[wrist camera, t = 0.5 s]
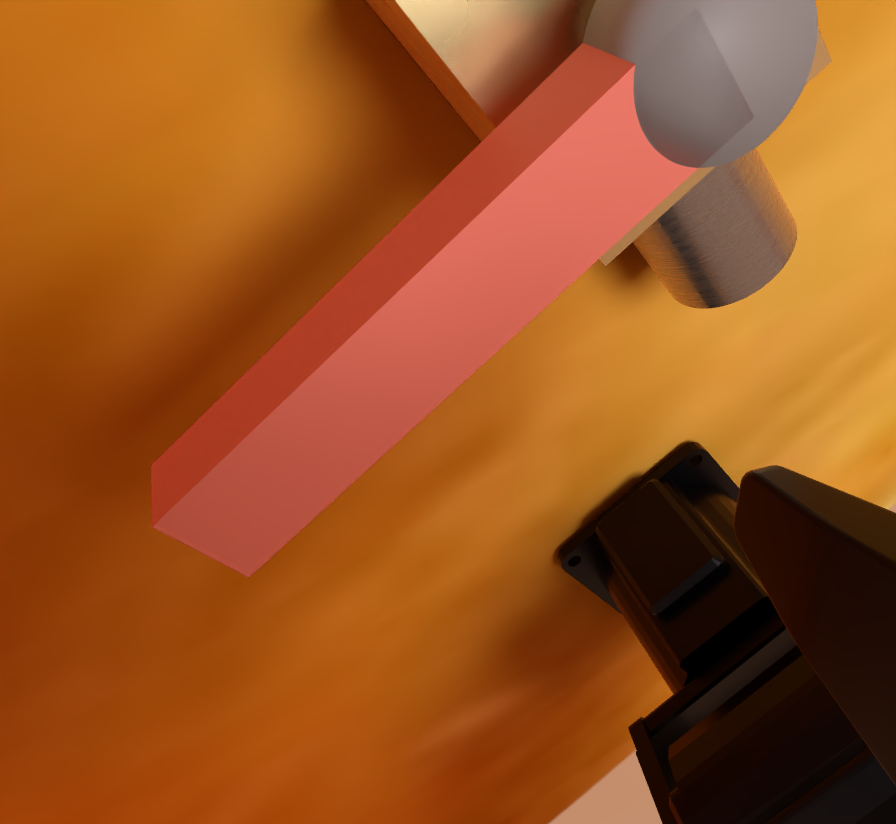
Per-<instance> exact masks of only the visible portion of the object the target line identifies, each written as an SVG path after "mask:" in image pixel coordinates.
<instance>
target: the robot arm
mask: <svg viewBox="0 0 896 824" xmlns="http://www.w3.org/2000/svg"><path fill="white" fill-rule="evenodd" d="M692 457H693V458H692ZM557 560H558V561H559V563H560V565H561V566H562V568H563V569H564V570H565V571H566V572H567V573H569V574H570V575H571V576H573V577H574V578H575V579H577V580H578V581H579V582H580V583H582V584H583V585H584V586H586V587H587V588H588V589H590V590H591V591H592V592H594V593H595V594H596V595H597V596H599V597H600V598H601V599H603V600H604V601H605V602H607V603H608V604H609V605H611V606H612V607H613V608H615V609H616V610H617V611H618V612H620V613H621V614H622V615H623V616H624V618H625V619H626V621H627V622H628V624H629V625H630V627H631V628H632V630H633V632H634V633H635V635H636V636H637V638H638V639H639V641H640V643H641V644H642V646H643V647H644V649H645V650H646V652H647V653H648V655H649V657H650V658H651V660H652V661H653V663H654V664H655V666H656V668H657V669H658V671H659V672H660V674H661V675H662V677H663V679H664V680H665V682H666V683H667V685H668V686H669V688H670V689H671V691H672V693H673V694H674V695H672V696H671V697H670V698H669V699H667V700H666V701H665V702H664V703H662V704H661V705H660V706H659V707H658V708H656V709H655V710H654V711H653V712H651V713H650V714H649V715H648V716H646V717H645V718H643V717H640V718H639V719H638V720H637V721H635V722H634V723H633V724H632V725H631V726H629V731H630V734H631V737H632V739H633V742H634V745H635V747H636V750H637V751H636V755H637V757H638V760H639V763H640V766H641V768H642V771H643V774H644V776H645V779H646V781H647V784H648V786H649V789H650V792H651V794H652V797H653V799H654V802H655V805H656V807H657V810H658V813H659V815H660V818H661V821H662V823H663V824H896V513H895V512H892V511H890V510H887V509H885V508H882V507H880V506H878V505H875V504H873V503H870V502H868V501H865V500H863V499H860V498H858V497H855V496H853V495H850V494H848V493H846V492H843V491H841V490H838V489H836V488H833V487H831V486H828V485H826V484H823V483H821V482H819V481H816V480H814V479H811V478H809V477H806V476H804V475H801V474H799V473H796V472H794V471H791V470H789V469H787V468H784V467H781V466H777V465H774V466H768V467H764V468H759V469H755V470H751V471H749V472H747V473H745V475H744V476H743V478H742V480H741V484H740V489H739V488H738V487H737V485H736V484H735V483H734V482H733V481H732V480H731V478H730V477H729V476H728V475H727V474H726V473H725V471H724V470H723V469H722V468H721V467H720V466H719V465H718V463H717V462H716V461H715V460H714V459H713V458H712V456H711V455H710V454H709V453H708V452H707V451H706V450H705V449H704V447H703V446H702V445H701V444H699V443H696V442H692V443H689V444H687V445H685V446H684V447H682V448H681V449H680V450H679V451H678V452H676V453H675V454H674V455H673V456H672V457H671V458H669V459H668V460H667V461H666V462H665V463H663V464H662V465H661V466H660V467H659V468H657V469H656V470H655V471H654V472H653V473H651V474H650V475H649V476H648V477H647V478H645V479H644V480H643V481H642V482H641V483H639V484H638V485H637V486H636V487H635V488H633V489H632V490H631V491H630V492H629V493H627V494H626V495H625V496H624V497H623V498H621V499H620V500H619V501H618V502H617V503H616V504H614V505H613V506H612V507H611V508H610V509H608V510H607V511H606V512H605V513H604V514H602V515H601V516H600V517H599V518H598V519H596V520H595V521H594V522H593V523H592V524H590V525H589V526H588V527H587V528H586V529H584V530H583V531H582V532H581V533H580V534H578V535H577V536H576V537H575V538H574V539H572V540H571V541H570V542H569V543H568V544H567V545H565V546H564V547H563V548H562V549H561V550H560V551H559V553H558V555H557Z"/></svg>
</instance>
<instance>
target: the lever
mask: <svg viewBox="0 0 896 824" xmlns="http://www.w3.org/2000/svg"><path fill="white" fill-rule="evenodd" d="M817 33H818V18H817V8H816V3H815V0H596V2H595V4H594V6H593V9H592V11H591V13H590V16H589V19H588V23H587V26H586V30H585V35H584V39H583V43H582V44H581V45H580V46H579V47H578V48H577V49H576V50H575V51H574V52H573V53H572V54H571V55H570V56H569V57H568V58H567V59H566V60H565V61H564V62H563V63H562V64H561V65H560V66H559V67H558V68H557V69H556V70H555V71H554V72H553V73H552V74H551V75H550V76H549V77H548V78H547V79H545V80H544V81H543V82H542V83H541V84H540V85H539V86H538V87H537V88H536V89H535V90H534V91H533V92H532V93H531V94H530V95H529V96H528V97H527V98H526V99H525V100H524V101H523V102H522V103H521V104H520V105H519V106H518V107H517V108H516V109H515V110H514V111H513V112H512V113H511V114H510V115H509V116H508V117H507V118H506V119H505V120H504V121H503V122H502V123H500V124H499V125H498V126H497V127H496V128H495V129H494V130H493V131H492V132H491V133H490V134H489V135H488V136H487V137H486V138H485V139H484V140H483V141H482V142H481V143H480V144H479V145H478V146H477V147H476V148H475V149H474V150H473V151H472V152H471V153H470V154H469V155H468V156H467V157H466V158H465V159H464V160H463V161H462V162H461V163H460V164H459V165H458V166H456V167H455V168H454V169H453V170H452V171H451V172H450V173H449V174H448V175H447V176H446V177H445V178H444V179H443V180H442V181H441V182H440V183H439V184H438V185H437V186H436V187H435V188H434V189H433V190H432V191H431V192H430V193H429V194H428V195H427V196H426V197H425V198H424V199H423V200H422V201H421V202H420V203H419V204H418V205H417V206H416V207H415V208H414V209H413V210H411V211H410V212H409V213H408V214H407V215H406V216H405V217H404V218H403V219H402V220H401V221H400V222H399V223H398V224H397V225H396V226H395V227H394V228H393V229H392V230H391V231H390V232H389V233H388V234H387V235H386V236H385V237H384V238H383V239H382V240H381V241H380V242H379V243H378V244H377V245H376V246H375V247H374V248H373V249H372V250H371V251H370V252H369V253H367V254H366V255H365V256H364V257H363V258H362V259H361V260H360V261H359V262H358V263H357V264H356V265H355V266H354V267H353V268H352V269H351V270H350V271H349V272H348V273H347V274H346V275H345V276H344V277H343V278H342V279H341V280H340V281H339V282H338V283H337V284H336V285H335V286H334V287H333V288H332V289H331V290H330V291H329V292H328V293H327V294H326V295H325V296H324V297H322V298H321V299H320V300H319V301H318V302H317V303H316V304H315V305H314V306H313V307H312V308H311V309H310V310H309V311H308V312H307V313H306V314H305V315H304V316H303V317H302V318H301V319H300V320H299V321H298V322H297V323H296V324H295V325H294V326H293V327H292V328H291V329H290V330H289V331H288V332H287V333H286V334H285V335H284V336H283V337H282V338H281V339H280V340H279V341H277V342H276V343H275V344H274V345H273V346H272V347H271V348H270V349H269V350H268V351H267V352H266V353H265V354H264V355H263V356H262V357H261V358H260V359H259V360H258V361H257V362H256V363H255V364H254V365H253V366H252V367H251V368H250V369H249V370H248V371H247V372H246V373H245V374H244V375H243V376H242V377H241V378H240V379H239V380H238V381H237V382H236V383H235V384H233V385H232V386H231V387H230V388H229V389H228V390H227V391H226V392H225V393H224V394H223V395H222V396H221V397H220V398H219V399H218V400H217V401H216V402H215V403H214V404H213V405H212V406H211V407H210V408H209V409H208V410H207V411H206V412H205V413H204V414H203V415H202V416H201V417H200V418H199V419H198V420H197V421H196V422H195V423H194V424H193V425H192V426H191V427H190V428H188V429H187V430H186V431H185V432H184V433H183V434H182V435H181V436H180V437H179V438H178V439H177V440H176V441H175V442H174V443H173V444H172V445H171V446H170V447H169V448H168V449H167V450H166V451H165V452H164V453H163V454H162V455H161V456H160V457H159V458H158V459H157V460H156V461H155V462H154V463H153V464H152V465H151V497H152V527H153V528H155V529H157V530H159V531H161V532H163V533H164V534H166V535H168V536H170V537H172V538H174V539H176V540H178V541H180V542H182V543H184V544H186V545H188V546H189V547H191V548H193V549H195V550H197V551H199V552H201V553H203V554H205V555H207V556H209V557H211V558H212V559H214V560H216V561H218V562H220V563H222V564H224V565H226V566H228V567H230V568H232V569H234V570H236V571H237V572H239V573H241V574H243V575H245V576H247V577H250V576H251V575H252V574H253V573H254V572H256V571H257V570H258V569H259V568H260V567H261V566H262V565H263V564H264V563H265V562H267V561H268V560H269V559H270V558H271V557H272V556H273V555H274V554H275V553H276V552H278V551H279V550H280V549H281V548H282V547H283V546H284V545H285V544H286V543H287V542H289V541H290V540H291V539H292V538H293V537H294V536H295V535H296V534H297V533H298V532H299V531H301V530H302V529H303V528H304V527H305V526H306V525H307V524H308V523H309V522H310V521H312V520H313V519H314V518H315V517H316V516H317V515H318V514H319V513H320V512H321V511H323V510H324V509H325V508H326V507H327V506H328V505H329V504H330V503H331V502H332V501H334V500H335V499H336V498H337V497H338V496H339V495H340V494H341V493H342V492H343V491H344V490H346V489H347V488H348V487H349V486H350V485H351V484H352V483H353V482H354V481H355V480H357V479H358V478H359V477H360V476H361V475H362V474H363V473H364V472H365V471H366V470H368V469H369V468H370V467H371V466H372V465H373V464H374V463H375V462H376V461H377V460H379V459H380V458H381V457H382V456H383V455H384V454H385V453H386V452H387V451H388V450H390V449H391V448H392V447H393V446H394V445H395V444H396V443H397V442H398V441H399V440H400V439H402V438H403V437H404V436H405V435H406V434H407V433H408V432H409V431H410V430H411V429H413V428H414V427H415V426H416V425H417V424H418V423H419V422H420V421H421V420H422V419H424V418H425V417H426V416H427V415H428V414H429V413H430V412H431V411H432V410H433V409H435V408H436V407H437V406H438V405H439V404H440V403H441V402H442V401H443V400H444V399H445V398H447V397H448V396H449V395H450V394H451V393H452V392H453V391H454V390H455V389H456V388H458V387H459V386H460V385H461V384H462V383H463V382H464V381H465V380H466V379H467V378H469V377H470V376H471V375H472V374H473V373H474V372H475V371H476V370H477V369H478V368H480V367H481V366H482V365H483V364H484V363H485V362H486V361H487V360H488V359H489V358H490V357H492V356H493V355H494V354H495V353H496V352H497V351H498V350H499V349H500V348H501V347H503V346H504V345H505V344H506V343H507V342H508V341H509V340H510V339H511V338H512V337H514V336H515V335H516V334H517V333H518V332H519V331H520V330H521V329H522V328H523V327H525V326H526V325H527V324H528V323H529V322H530V321H531V320H532V319H533V318H534V317H536V316H537V315H538V314H539V313H540V312H541V311H542V310H543V309H544V308H545V307H546V306H548V305H549V304H550V303H551V302H552V301H553V300H554V299H555V298H556V297H557V296H559V295H560V294H561V293H562V292H563V291H564V290H565V289H566V288H567V287H568V286H570V285H571V284H572V283H573V282H574V281H575V280H576V279H577V278H578V277H579V276H581V275H582V274H583V273H584V272H585V271H586V270H587V269H588V268H589V267H590V266H591V265H593V264H594V263H595V262H596V261H597V260H598V259H599V258H600V257H601V256H602V255H604V254H605V253H606V252H607V251H608V250H609V249H610V248H611V247H612V246H613V245H615V244H616V243H617V242H618V241H619V240H620V239H621V238H622V237H623V236H624V235H626V234H627V233H628V232H629V231H630V230H631V229H632V228H633V227H634V226H635V225H636V224H638V223H639V222H640V221H641V220H642V219H643V218H644V217H645V216H646V215H647V214H649V213H650V212H651V211H652V210H653V209H654V208H655V207H656V206H657V205H658V204H660V203H661V202H662V201H663V200H664V199H665V198H666V197H667V196H668V195H669V194H671V193H672V192H673V191H674V190H675V189H676V188H677V187H678V186H679V185H680V184H682V183H683V182H684V181H685V180H686V179H687V178H688V177H689V176H690V175H691V174H692V173H694V172H695V171H696V170H697V169H698V168H707V167H714V166H719V165H723V164H726V163H728V162H731V161H734V160H736V159H738V158H740V157H742V156H744V155H745V154H747V153H748V152H750V151H751V150H753V149H754V148H756V147H757V146H758V145H760V144H761V143H762V142H763V141H764V140H766V139H767V138H768V137H769V136H770V135H771V134H772V133H773V132H774V131H775V130H776V129H777V128H778V126H779V125H780V124H781V123H782V122H783V120H784V119H785V118H786V116H787V115H788V114H789V112H790V111H791V109H792V108H793V106H794V104H795V103H796V101H797V99H798V97H799V96H800V94H801V92H802V90H803V87H804V85H805V83H806V81H807V78H808V75H809V73H810V70H811V67H812V63H813V59H814V55H815V50H816V44H817Z"/></svg>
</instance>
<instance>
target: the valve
mask: <svg viewBox="0 0 896 824" xmlns="http://www.w3.org/2000/svg"><path fill="white" fill-rule="evenodd" d="M366 2H367V3H368V4H369V5H370V7H371V8H372V9H373V10H374V11H375V13H376V14H377V15H378V16H379V18H380V19H381V20H382V21H383V22H384V24H385V25H386V26H387V27H388V29H389V30H390V31H391V32H392V33H393V35H394V36H395V37H396V38H397V40H398V41H399V42H400V43H401V44H402V46H403V47H404V48H405V49H406V51H407V52H408V53H409V54H410V55H411V57H412V58H413V59H414V60H415V62H416V63H417V64H418V65H419V66H420V68H421V69H422V70H423V71H424V73H425V74H426V75H427V76H428V77H429V79H430V80H431V81H432V82H433V84H434V85H435V86H436V87H437V88H438V90H439V91H440V92H441V93H442V95H443V96H444V97H445V98H446V99H447V101H448V102H449V103H450V104H451V106H452V107H453V108H454V109H455V110H456V112H457V113H458V114H459V115H460V117H461V118H462V119H463V120H464V121H465V123H466V124H467V125H468V126H469V128H470V129H471V130H472V131H473V132H474V134H475V135H476V136H477V137H478V139H479V140H480V141H481V142H482V141H483V140H484V139H485V138H486V137H487V136H488V135H489V134H490V133H491V132H492V131H493V130H494V129H495V128H496V127H497V126H498V125H499V124H500V123H502V122H503V121H504V120H505V119H506V118H507V117H508V116H509V115H510V114H511V113H512V112H513V111H514V110H515V109H516V108H517V107H518V106H519V105H520V104H521V103H522V102H523V101H524V100H525V99H526V98H527V97H528V96H529V95H530V94H531V93H532V92H533V91H534V90H535V89H536V88H537V87H538V86H539V85H540V84H541V83H542V82H543V81H544V80H545V79H547V78H548V77H549V76H550V75H551V74H552V73H553V72H554V71H555V70H556V69H557V68H558V67H559V66H560V65H561V64H562V63H563V62H564V61H565V60H566V59H567V58H568V57H569V56H570V55H571V54H572V53H573V52H574V51H575V50H576V49H577V48H578V47H579V46H580V45H581V44H582V43H583V39H584V35H585V30H586V26H587V23H588V19H589V16H590V13H591V11H592V9H593V6H594V4H595V2H596V0H366ZM831 61H832V60H831V58H830V55H829V53H828V50H827V48H826V46H825V43H824V41H823V39H822V36H821V34H820V31H819V29H818V33H817V44H816V50H815V55H814V59H813V63H812V67H811V70H810V73H809V75H808V78H807V81H806V83H805V85H806V84H807V83H808V82H809V81H810V80H812V79H813V78H814V77H815V76H816V75H817V74H818V73H819V72H820V71H822V70H823V69H824V68H825V67H826V66H827V65H828V64H829V63H830V62H831ZM805 85H804V86H805ZM796 239H797V227H796V223H795V220H794V218H793V216H792V215H791V213H790V211H789V209H788V207H787V205H786V203H785V202H784V200H783V198H782V196H781V194H780V192H779V190H778V188H777V187H776V185H775V183H774V181H773V179H772V177H771V175H770V174H769V172H768V170H767V168H766V166H765V164H764V162H763V161H762V159H761V157H760V155H759V153H758V151H757V149H756V148H754V149H753V150H751V151H750V152H748V153H747V154H745V155H744V156H742V157H740V158H738V159H736V160H734V161H731V162H728V163H726V164H723V165H719V166H714V167H707V168H698V169H697V170H696V171H695V172H694V173H692V174H691V175H690V176H689V177H688V178H687V179H686V180H685V181H684V182H683V183H682V184H680V185H679V186H678V187H677V188H676V189H675V190H674V191H673V192H672V193H671V194H669V195H668V196H667V197H666V198H665V199H664V200H663V201H662V202H661V203H660V204H658V205H657V206H656V207H655V208H654V209H653V210H652V211H651V212H650V213H649V214H647V215H646V216H645V217H644V218H643V219H642V220H641V221H640V222H639V223H638V224H636V225H635V226H634V227H633V228H632V229H631V230H630V231H629V232H628V233H627V234H626V235H624V236H623V237H622V238H621V239H620V240H619V241H618V242H617V243H616V244H615V245H613V246H612V247H611V248H610V249H609V250H608V251H607V252H606V253H605V254H604V255H602V256H601V257H600V258H599V259H598V260H599V261H600V262H601V263H602V264H603V265H605V266H607V265H608V264H609V263H610V262H611V261H612V260H613V259H614V258H615V257H616V256H618V255H619V254H620V253H621V252H622V251H623V250H624V249H625V248H626V247H627V246H629V245H630V244H631V243H633V244H634V245H635V247H636V248H637V249H638V251H639V252H640V253H641V255H642V256H643V258H644V259H645V260H646V262H647V263H648V264H649V266H650V267H651V268H652V270H653V271H654V272H655V274H656V275H657V276H658V278H659V279H660V281H661V282H662V283H663V285H664V286H665V287H666V289H667V290H668V291H669V293H670V294H671V295H672V297H673V298H674V299H675V300H677V301H678V302H680V303H681V304H684V305H686V306H689V307H693V308H715V307H721V306H725V305H728V304H731V303H734V302H737V301H739V300H741V299H744V298H746V297H748V296H749V295H751V294H753V293H755V292H756V291H758V290H759V289H761V288H762V287H763V286H765V285H766V284H767V283H768V282H770V281H771V280H772V279H773V278H774V277H775V276H776V275H777V274H778V273H779V272H780V270H781V269H782V268H783V267H784V265H785V264H786V263H787V261H788V260H789V258H790V256H791V254H792V252H793V249H794V247H795V243H796Z"/></svg>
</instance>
